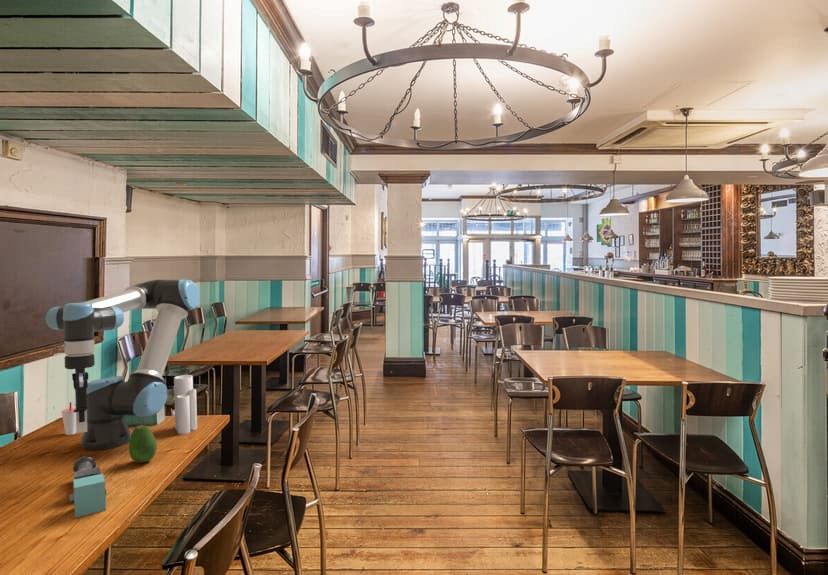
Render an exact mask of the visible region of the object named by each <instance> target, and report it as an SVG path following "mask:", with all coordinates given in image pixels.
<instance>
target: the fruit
mask: <svg viewBox="0 0 828 575" xmlns="http://www.w3.org/2000/svg"><path fill="white" fill-rule="evenodd" d="M157 448H158V443H157V440H156V437H155V435H154V434H153V432H152V430H151V429H150V427H148V425H136V426H135V428H134V429H133V430H132V432H131V439H130V441H129V444H128V453H129V457H130V458H131V459H132V460H133V461H134V462H135V463H139V464H140V463H146V462H149V461H150V460H152V459H153V458H154V456H156V453H157Z"/></svg>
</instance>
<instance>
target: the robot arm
mask: <svg viewBox="0 0 828 575" xmlns="http://www.w3.org/2000/svg"><path fill="white" fill-rule="evenodd" d="M199 304H200V292H199V288H198V286H197V285H196V283H195V282H194V281H192V280H190V279H153V280H148V281H144V282H141V283H137V284H135V285H130V286H127V287H126V288H125V289H124V290H122V291H119V292H115V293H113V294H109V295H105V296H101V297H97V298H93V299H90V300H87V301H83V302H73V303H72V302H71V303H69V302H68V303H66V304H64V305H62V306H53V307H51V308H50V309H49V310H48V311H47V313H46V314H45V323H46V325H47V326H48V328H50V329H52V330H56V331H61V332H63V343H64V344H61V348H63V349H64V355H65V356H64V368H65V369H67V370H75V371H74V373H71V375H72V376H71V378H72V381H73V384H72V386H73V390H74V391H75V404H74V405H75V408H76V410H74V412H76V434H80V433H81V434H82V437H81V440H80V447H81V449H83V450H86V451H101V450H108V449H112V448H113V449H114V448H116V447H119V446H123V445H125V444H128V442H129V443H130V439H131V435H132V432H131V430H130V429H129V426H127V423H126V421H125V418H124V415H130V416H140V417H141V416H151V415H154V414H156V413H158V412H159V411H160V410H161V409H162V408H163V406H164V407H165V404H166V402H167V399H168V388H167V385H166V384H165V382H166V381H165V379H164V378H163V375H164V372H165V369H166V367H167V363H168V360H169V357H170V355H171V352H172V348H173V346H174V344H175V339H176V338H177V335H178V332H179V329H180V326H181V322H182V320H184V319H186V318H187V317H188V316H189V312H190V311H192V310H195V309H197V308H198V306H199ZM145 309H146V310H147V309H149V310H150V309H151V310H152V309H153V310H156V311H157V315H156V318H155V321H154V324H153V327H152V329H151V332H150V335H149V337H148V340H147V342H146V345H145V348H144V350H143V352H142V355H141V358H140V361H139V363H138V366H137V368H136V370H135V371H133V372H131V373H130V374H129V377H128V378H127V380H126V381H124V380H125V379H124V377H123V376H122V375H117V376H116V375H115V376H110V377H109V376H108V377H105V378H104V377H103V378H99V379H98V378H97V379H94V380H92V381H89V382H88V380H89V373H88V371H86V368H87V369H89V368H92V367H94V366H95V364H96V363H95V354H94V352H95V334H94V333H97V332H103V331H112V330H116V329H118V328H120V327H121V326H122V325H123V323H124V322H125V314H124V313H126V312H129V311H141V310H145Z"/></svg>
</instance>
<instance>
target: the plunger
mask: <svg viewBox="0 0 828 575" xmlns="http://www.w3.org/2000/svg"><path fill="white" fill-rule="evenodd" d="M96 466H97V464H96V460H95V459H94V457H92V456H89V455H88V456H82V457H79V458H77V459H76V461H75V462H74V463H73V465H72V470H73V473H74V472H77V471H82V470H87V469H92V468H96ZM93 476H94V475H93Z"/></svg>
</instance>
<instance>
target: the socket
mask: <svg viewBox="0 0 828 575" xmlns="http://www.w3.org/2000/svg"><path fill="white" fill-rule="evenodd" d="M72 481H73V482H72V483H73V485H72V486H73V494H74V502H73V506H74V508H73V509H74V515H75V516H74V518H76V519H77V518H79V517H83V516H87V515H91V514H96V513H99V512H104V511H107V502H106V498H107V497H106V495H105V489H106V480H105V476H104V473H101V474H99V475H94V476H89V477H84V478H79V479H75V480H74V479H73V480H72Z"/></svg>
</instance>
